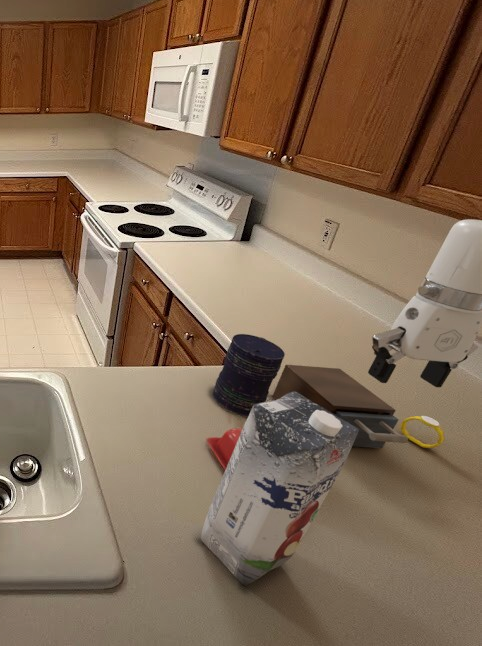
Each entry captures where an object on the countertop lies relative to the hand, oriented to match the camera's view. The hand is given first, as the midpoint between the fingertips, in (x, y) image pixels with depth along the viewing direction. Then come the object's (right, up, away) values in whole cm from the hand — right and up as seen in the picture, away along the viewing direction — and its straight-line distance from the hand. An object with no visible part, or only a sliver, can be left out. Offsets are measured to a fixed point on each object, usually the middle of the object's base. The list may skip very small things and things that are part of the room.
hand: (403, 380), depth 74 cm
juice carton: (-38, -22, -13) cm, 46 cm away
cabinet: (-1, -13, +16) cm, 21 cm away
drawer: (-1, -14, +12) cm, 18 cm away
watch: (+15, -16, +12) cm, 25 cm away
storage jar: (-18, -11, +20) cm, 29 cm away
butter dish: (-27, -17, +2) cm, 32 cm away
